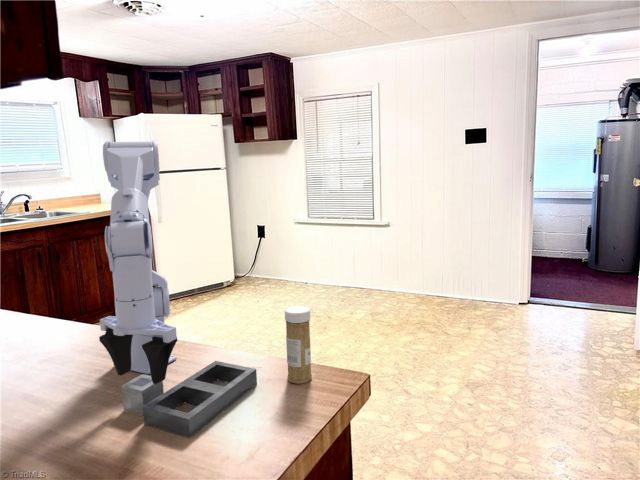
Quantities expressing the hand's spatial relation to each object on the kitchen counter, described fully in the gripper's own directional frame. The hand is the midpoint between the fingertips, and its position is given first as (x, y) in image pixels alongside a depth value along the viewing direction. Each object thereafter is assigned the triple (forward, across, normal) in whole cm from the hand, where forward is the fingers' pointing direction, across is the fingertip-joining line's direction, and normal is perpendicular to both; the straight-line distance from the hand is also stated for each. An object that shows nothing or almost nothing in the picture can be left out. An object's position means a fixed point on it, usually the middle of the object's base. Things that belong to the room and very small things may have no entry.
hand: (141, 376), depth 78 cm
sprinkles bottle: (+6, +19, +19) cm, 27 cm away
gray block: (+6, 0, 0) cm, 6 cm away
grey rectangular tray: (+5, +8, +5) cm, 11 cm away
